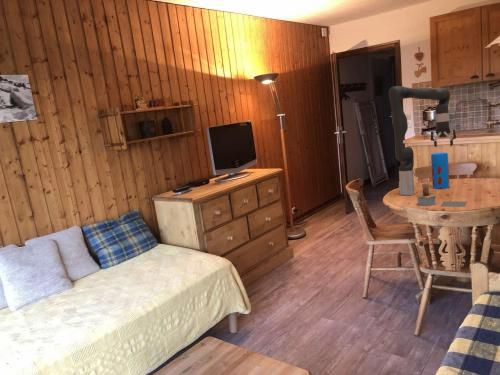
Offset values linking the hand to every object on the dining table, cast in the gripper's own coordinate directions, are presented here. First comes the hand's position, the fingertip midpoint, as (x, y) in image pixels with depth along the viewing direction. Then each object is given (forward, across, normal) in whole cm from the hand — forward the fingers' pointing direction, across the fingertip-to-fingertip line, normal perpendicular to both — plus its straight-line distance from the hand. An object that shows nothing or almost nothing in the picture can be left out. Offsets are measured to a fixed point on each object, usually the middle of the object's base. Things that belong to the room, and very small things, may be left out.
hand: (443, 146), depth 243 cm
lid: (+28, -8, -19) cm, 35 cm away
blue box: (+33, -8, +32) cm, 47 cm away
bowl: (+33, -8, -19) cm, 39 cm away
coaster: (+33, +7, -19) cm, 39 cm away
